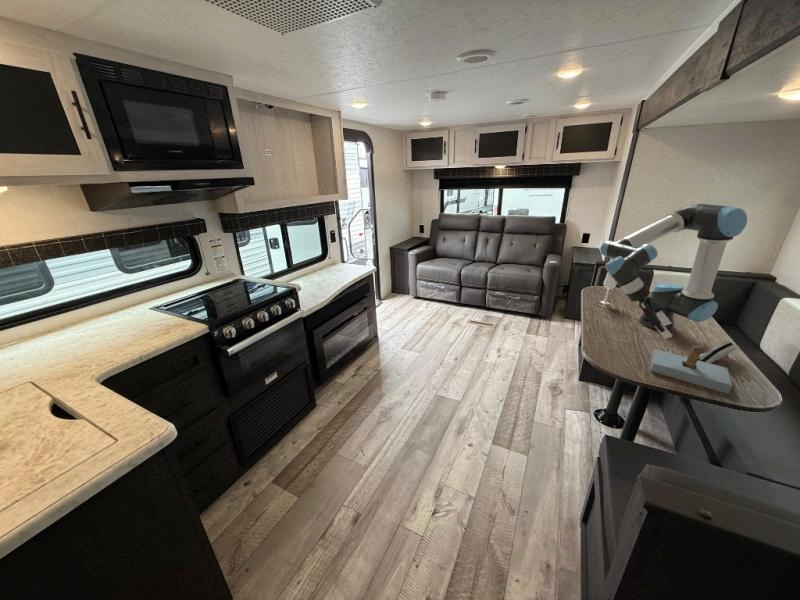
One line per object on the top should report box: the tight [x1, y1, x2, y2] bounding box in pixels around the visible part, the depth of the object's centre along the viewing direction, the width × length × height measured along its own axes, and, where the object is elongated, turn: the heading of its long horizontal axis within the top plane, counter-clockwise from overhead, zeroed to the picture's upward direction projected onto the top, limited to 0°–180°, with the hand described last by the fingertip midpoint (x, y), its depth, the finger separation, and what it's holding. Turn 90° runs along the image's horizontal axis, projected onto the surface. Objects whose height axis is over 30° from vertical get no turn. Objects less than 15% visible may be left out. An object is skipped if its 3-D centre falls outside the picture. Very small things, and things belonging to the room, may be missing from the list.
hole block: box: [649, 348, 733, 395], centre depth 130 cm, size 24×14×4 cm, turn 52°
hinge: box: [698, 340, 738, 364], centre depth 139 cm, size 17×5×10 cm, turn 114°
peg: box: [684, 344, 704, 369], centre depth 129 cm, size 3×3×13 cm
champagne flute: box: [600, 272, 618, 304], centre depth 192 cm, size 7×7×24 cm
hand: (668, 330), depth 130 cm, fingers open, 13 cm apart
